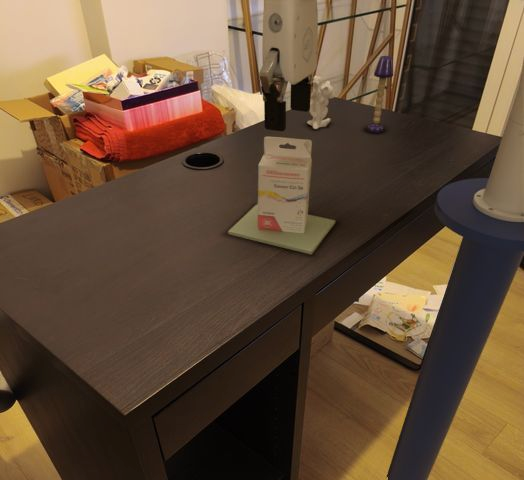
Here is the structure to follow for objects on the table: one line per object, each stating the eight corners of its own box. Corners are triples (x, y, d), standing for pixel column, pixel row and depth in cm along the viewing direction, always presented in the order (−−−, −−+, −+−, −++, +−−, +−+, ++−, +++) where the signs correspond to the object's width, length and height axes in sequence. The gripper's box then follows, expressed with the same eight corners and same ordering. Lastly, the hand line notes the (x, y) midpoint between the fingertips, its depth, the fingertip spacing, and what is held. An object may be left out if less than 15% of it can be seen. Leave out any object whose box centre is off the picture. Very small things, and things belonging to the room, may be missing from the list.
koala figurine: (319, 132, 123) (323, 80, 115) (297, 127, 127) (300, 76, 118) (336, 123, 128) (341, 73, 120) (315, 118, 131) (319, 69, 123)
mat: (335, 223, 88) (335, 220, 88) (311, 254, 80) (311, 251, 80) (257, 206, 93) (257, 203, 93) (228, 234, 85) (227, 231, 85)
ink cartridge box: (257, 230, 85) (256, 145, 75) (262, 217, 89) (262, 135, 79) (304, 234, 84) (310, 149, 74) (308, 221, 88) (313, 138, 78)
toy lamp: (363, 127, 126) (373, 55, 115) (379, 126, 127) (391, 54, 115) (370, 134, 123) (381, 59, 111) (387, 132, 123) (399, 58, 112)
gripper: (290, -10, 55) (288, 141, 67) (339, -26, 67) (329, 106, 78) (233, -12, 58) (241, 134, 70) (289, -27, 69) (287, 101, 81)
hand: (288, 119), depth 74 cm, fingers open, 9 cm apart
